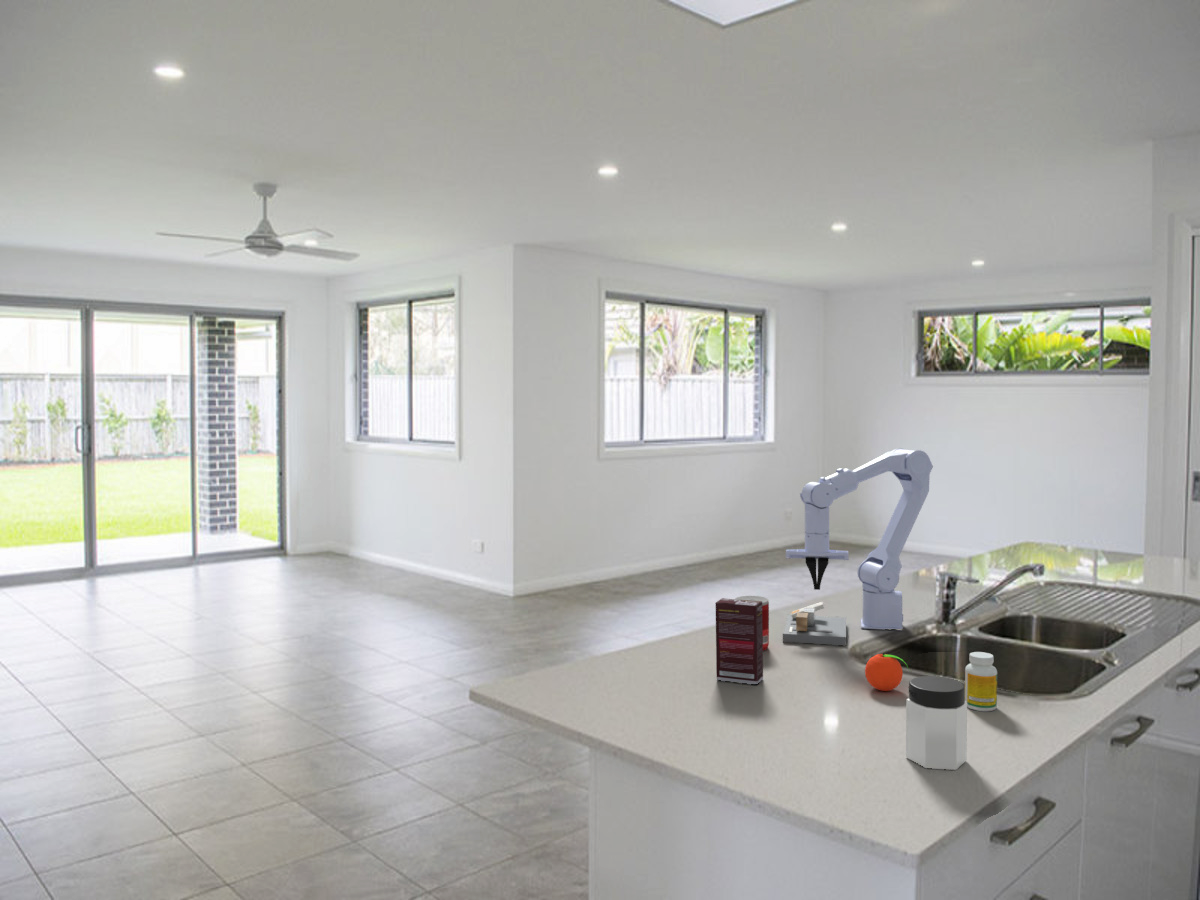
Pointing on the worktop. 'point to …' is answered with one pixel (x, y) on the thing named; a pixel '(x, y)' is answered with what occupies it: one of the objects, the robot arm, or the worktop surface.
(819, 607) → the block
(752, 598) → the canned food
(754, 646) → the supplement box
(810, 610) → the steel slider
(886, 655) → the clementine
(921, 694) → the jar
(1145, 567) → the worktop surface
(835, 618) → the console
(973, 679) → the supplement bottle
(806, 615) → the oak slider
